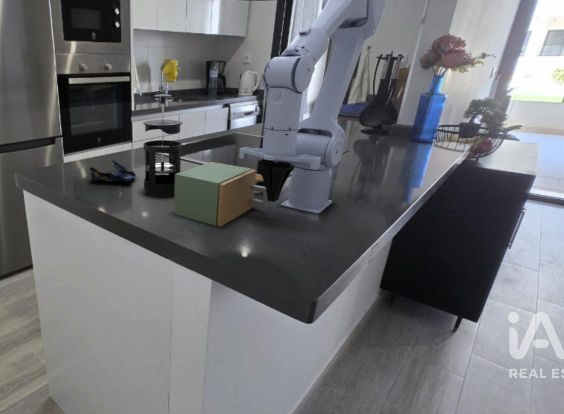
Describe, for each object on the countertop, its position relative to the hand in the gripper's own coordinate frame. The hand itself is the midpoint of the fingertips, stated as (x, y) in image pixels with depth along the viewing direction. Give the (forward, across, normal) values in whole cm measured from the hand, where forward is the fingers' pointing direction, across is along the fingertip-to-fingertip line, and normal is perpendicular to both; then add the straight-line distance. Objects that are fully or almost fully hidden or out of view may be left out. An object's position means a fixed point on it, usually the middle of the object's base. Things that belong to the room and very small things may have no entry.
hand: (272, 200), depth 73 cm
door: (+4, -5, -2) cm, 7 cm away
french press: (+5, -28, +2) cm, 29 cm away
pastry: (+5, -12, +18) cm, 22 cm away
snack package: (+5, -44, 0) cm, 44 cm away
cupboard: (+5, -12, -2) cm, 13 cm away
